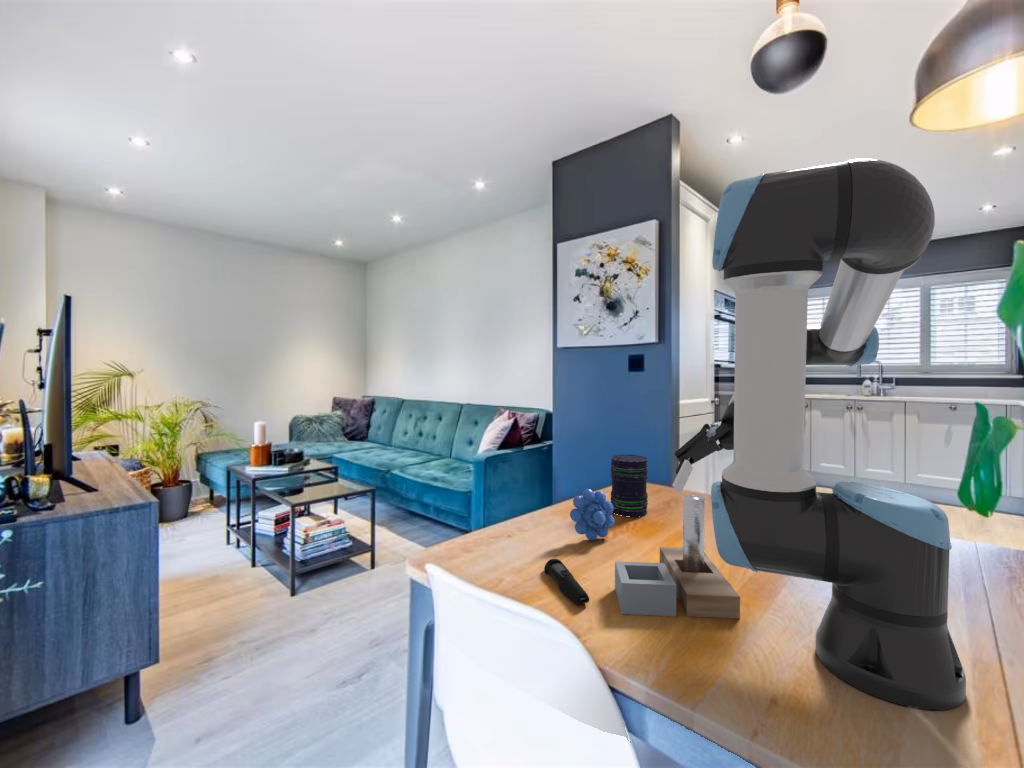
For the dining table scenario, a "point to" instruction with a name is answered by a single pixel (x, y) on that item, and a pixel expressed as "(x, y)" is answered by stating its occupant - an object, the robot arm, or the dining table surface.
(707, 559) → the beam
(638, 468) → the dark blue ridged cylinder
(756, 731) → the dining table surface
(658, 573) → the block
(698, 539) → the axle
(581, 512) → the blue lobed rosette
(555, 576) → the electric trimmer
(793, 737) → the dining table surface
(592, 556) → the dining table surface
